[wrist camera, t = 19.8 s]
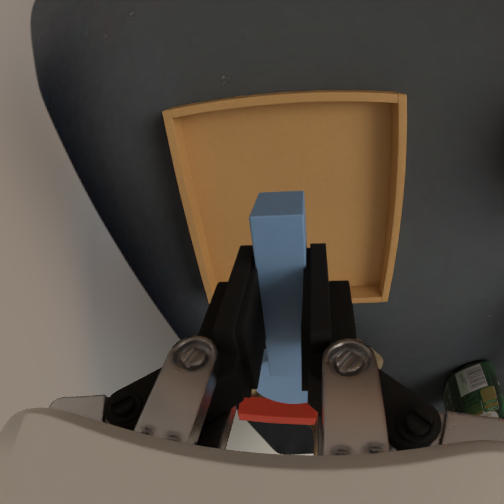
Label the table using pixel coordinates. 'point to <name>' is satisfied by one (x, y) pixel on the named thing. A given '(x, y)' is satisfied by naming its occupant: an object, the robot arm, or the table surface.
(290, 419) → the red spoon
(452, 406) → the coffee jar
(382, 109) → the tray
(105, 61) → the table surface
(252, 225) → the blue paddle
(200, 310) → the table surface
